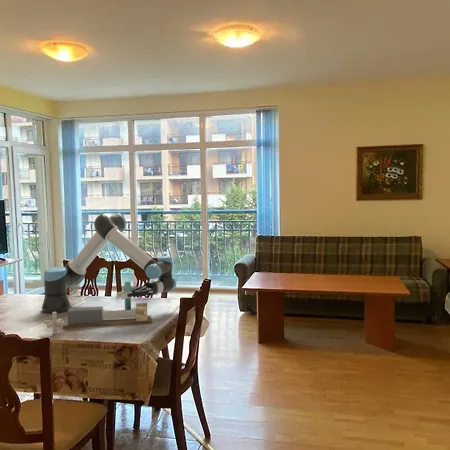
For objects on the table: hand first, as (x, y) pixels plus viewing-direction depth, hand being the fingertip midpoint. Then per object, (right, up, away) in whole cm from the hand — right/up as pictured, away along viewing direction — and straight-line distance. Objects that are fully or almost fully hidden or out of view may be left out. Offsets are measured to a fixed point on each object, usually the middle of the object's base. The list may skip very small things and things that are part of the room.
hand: (119, 296), depth 224 cm
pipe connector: (-26, -15, -14) cm, 34 cm away
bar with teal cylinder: (-2, -11, +4) cm, 12 cm away
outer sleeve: (-17, -13, +2) cm, 21 cm away
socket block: (+10, -12, +6) cm, 17 cm away
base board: (-6, -14, +4) cm, 16 cm away
